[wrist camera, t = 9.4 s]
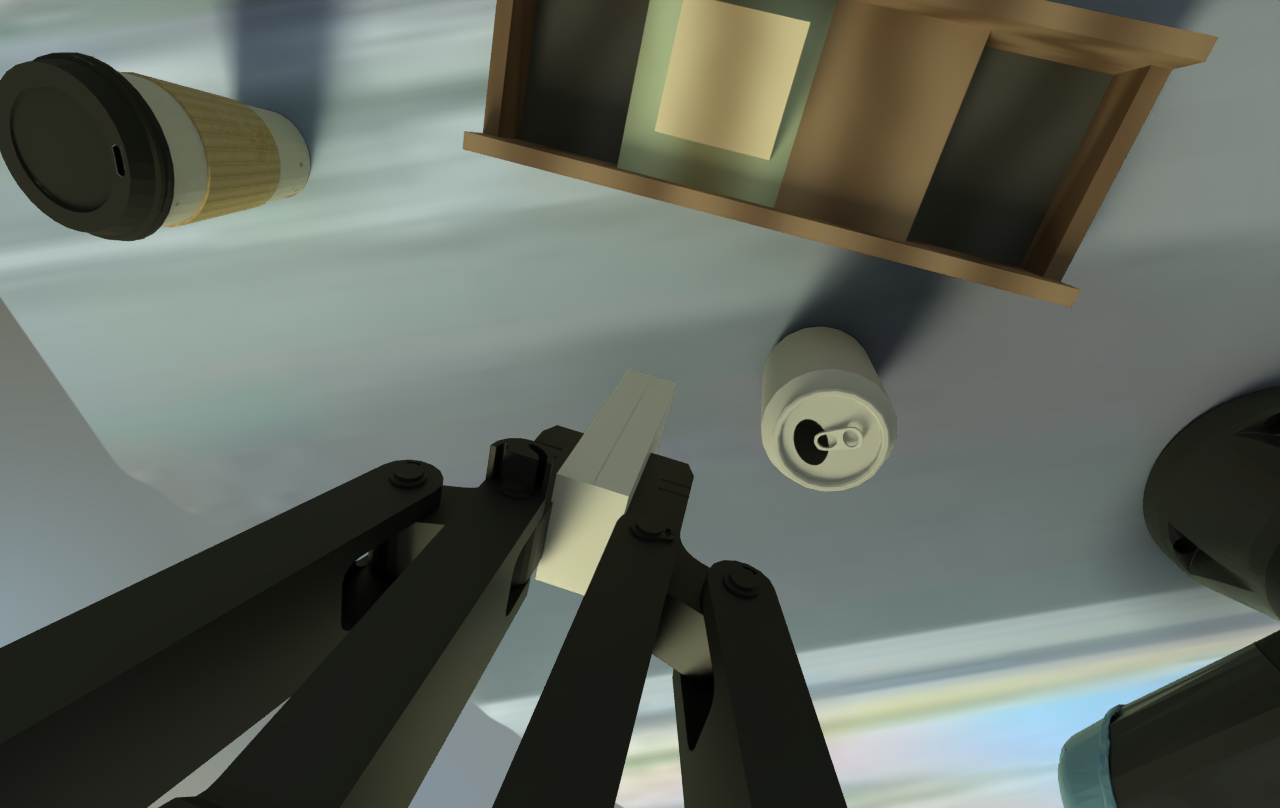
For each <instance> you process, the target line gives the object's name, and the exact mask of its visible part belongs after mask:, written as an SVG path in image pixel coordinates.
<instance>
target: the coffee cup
mask: <svg viewBox="0 0 1280 808" xmlns="http://www.w3.org/2000/svg"><path fill="white" fill-rule="evenodd" d="M0 151H1V154H2V157H3V159H4V161H5V163H6V165H7V167H8V169H9V171H10V173H11V175H12V176H13V178H14V179H15V181H16V182H17V184H18V186H19V187H20V188H21V190H22V191H23V192H24V193H25V194H26V196H27V197H28V198H29V199H30V201H31V202H33V203H34V204H35V205H36V206H37V207H38V208H39V209H40V210H41V211H42V212H43V213H45V214H46V215H47V216H49V217H50V218H51V219H53V220H54V221H56V222H58V223H60V224H62V225H64V226H65V227H67V228H70V229H74V230H77V231H80V232H87V233H89V234H91V235H94V236H98V237H101V238H104V239H108V240H121V241H134V240H140V239H144V238H146V237H148V236H150V235H152V234H154V233H155V232H156V231H157V230H158V229H159V228H160V227H175V226H181V225H185V224H189V223H193V222H197V221H202V220H206V219H210V218H214V217H218V216H222V215H226V214H230V213H234V212H238V211H242V210H246V209H251V208H255V207H258V206H260V205H263V204H265V203H266V202H270V201H274V200H278V199H283V198H287V197H291V196H294V195H296V194H298V193H299V192H300V191H301V190H302V189H303V188H304V186H305V185H306V183H307V180H308V178H309V173H310V157H309V152H308V148H307V145H306V143H305V141H304V139H303V137H302V135H301V133H300V132H299V130H298V129H297V128H296V127H295V126H294V125H293V123H292V122H291V121H289V120H288V119H287V118H285V117H284V116H282V115H280V114H278V113H276V112H272V111H269V110H265V109H261V108H257V107H253V106H249V105H245V104H243V103H241V102H239V101H237V100H234V99H230V98H226V97H222V96H219V95H215V94H211V93H208V92H204V91H200V90H196V89H193V88H189V87H185V86H181V85H178V84H174V83H170V82H167V81H163V80H159V79H155V78H152V77H148V76H144V75H140V74H137V73H133V72H118V71H116V70H115V69H113V68H112V67H111V66H109V65H108V64H106V63H104V62H102V61H100V60H98V59H96V58H94V57H91V56H88V55H84V54H80V53H51V54H47V55H44V56H41V57H37V58H36V59H34V60H33V61H29V62H25V63H21V64H18V65H15V66H14V67H13V68H11V69H10V70H8V71H7V72H6V73H5V75H4V76H3V77H2V79H1V80H0Z"/></svg>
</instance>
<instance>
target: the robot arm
mask: <svg viewBox="0 0 1280 808" xmlns="http://www.w3.org/2000/svg"><path fill="white" fill-rule="evenodd" d="M676 385H677V383H674V382H671V381H668V380H664V379H661V378H657V377H654V376H651V375H647V374H644V373H640V372H637V371H634V370H630V369H629V370H628V371H627V372H626V374H625V375H624V377H623V378H622V380H621V381H620V383H619V384H618V386H617V387H616V388H615V390H614V391H613V393H612V394H611V396H610V397H609V399H608V400H607V401H606V403H605V404H604V406H603V407H602V409H601V410H600V412H599V413H598V415H597V416H596V417H595V419H594V420H593V422H592V423H591V425H590V426H589V428H588V429H587V430H586V432H585V433H581V432H577V431H574V430H571V429H568V428H565V427H561V426H558V425H557V426H554V427H552V428H549V429H547V430H544V431H542V432H541V434H540V435H539V436H538V437H537V438H536V440H535V441H532V440H527V439H522V438H508V439H503V440H499V441H497V442H495V443H493V444H492V445H491V446H490V453H489V460H488V467H487V474H486V480H485V481H484V482H483V483H482V484H481V485H480V486H479V487H477V488H463V487H453V486H444V485H443V476H442V474H441V472H440V470H438V469H437V468H436V467H434V466H433V465H431V464H428V463H425V462H422V461H417V460H416V461H415V460H400V461H393V462H390V463H387V464H384V465H382V466H380V467H378V468H375V469H373V470H371V471H369V472H367V473H365V474H363V475H361V476H359V477H357V478H355V479H352V480H350V481H348V482H346V483H344V484H342V485H340V486H338V487H336V488H334V489H332V490H330V491H327V492H325V493H323V494H321V495H319V496H317V497H315V498H313V499H311V500H309V501H307V502H304V503H302V504H300V505H298V506H296V507H294V508H292V509H290V510H288V511H286V512H284V513H281V514H279V515H277V516H275V517H273V518H271V519H269V520H267V521H265V522H263V523H261V524H259V525H256V526H254V527H252V528H250V529H248V530H246V531H244V532H242V533H240V534H238V535H236V536H233V537H231V538H229V539H227V540H225V541H223V542H221V543H219V544H217V545H215V546H213V547H211V548H208V549H206V550H204V551H202V552H201V553H198V554H196V555H194V556H192V557H190V558H188V559H185V560H184V561H181V562H179V563H177V564H175V565H173V566H171V567H169V568H167V569H165V570H163V571H160V572H158V573H156V574H154V575H152V576H150V577H148V578H146V579H144V580H142V581H140V582H137V583H135V584H133V585H131V586H129V587H127V588H125V589H123V590H121V591H119V592H117V593H115V594H113V595H111V596H108V597H106V598H104V599H102V600H100V601H98V602H96V603H94V604H91V605H89V606H87V607H86V608H83V609H81V610H79V611H77V612H75V613H73V614H71V615H69V616H66V617H64V618H62V619H60V620H58V621H56V622H54V623H52V624H50V625H48V626H46V627H44V628H41V629H40V630H37V631H35V632H33V633H31V634H29V635H27V636H25V637H23V638H21V639H19V640H16V641H14V642H12V643H10V644H8V645H6V646H4V647H2V648H0V808H147V807H148V806H150V805H151V804H152V803H154V802H155V801H156V800H158V799H159V798H160V797H161V796H163V795H164V794H165V793H166V792H168V791H169V790H170V789H172V788H173V787H174V786H175V785H177V784H178V783H179V782H181V781H182V780H183V779H185V778H186V777H187V776H189V775H190V774H191V773H192V772H194V771H195V770H196V769H198V768H199V767H200V766H201V765H203V764H204V763H205V762H207V761H208V760H209V759H210V758H212V757H213V756H214V755H216V754H217V753H218V752H219V751H221V750H222V749H223V748H225V747H226V746H227V745H229V744H230V743H231V742H233V741H234V740H235V739H236V738H238V737H239V736H240V735H242V734H243V733H244V732H245V731H247V730H248V729H249V728H251V727H252V726H253V725H254V724H256V723H257V722H258V721H260V720H261V719H262V718H264V717H265V716H266V715H267V714H269V713H270V712H271V711H273V710H274V709H275V708H276V707H278V706H279V705H280V704H281V703H283V702H284V701H286V700H287V699H288V698H289V697H290V699H289V700H288V701H287V702H286V703H285V704H284V705H283V707H282V708H281V709H280V710H279V711H278V712H277V713H276V714H275V715H274V716H273V718H272V719H271V720H270V721H269V722H268V723H267V724H266V725H265V727H264V728H263V729H262V730H261V731H260V732H259V733H258V734H257V735H256V737H255V738H254V739H253V740H252V741H251V742H250V743H249V745H247V747H246V748H245V749H244V750H243V751H242V752H241V753H240V754H239V756H238V757H237V758H236V759H235V760H234V761H233V762H232V763H231V765H230V766H229V767H228V768H227V769H226V770H225V771H224V772H223V773H222V775H221V776H220V777H219V778H218V779H217V780H216V781H215V782H214V783H213V784H212V785H211V786H210V787H209V788H208V789H207V790H205V791H204V792H202V793H201V794H199V795H197V796H195V797H181V798H180V797H179V798H174V799H172V800H171V801H169V802H167V803H166V804H164V805H162V806H161V807H159V808H408V806H409V805H410V803H411V801H412V799H413V797H414V796H415V794H416V792H417V790H418V788H419V787H420V785H421V783H422V781H423V780H424V778H425V776H426V774H427V772H428V771H429V768H430V767H431V765H432V763H433V762H434V760H435V758H436V756H437V755H438V753H439V751H440V749H441V747H442V746H443V744H444V742H445V740H446V738H447V737H448V735H449V733H450V731H451V730H452V728H453V726H454V724H455V722H456V721H457V719H458V717H459V715H460V714H461V711H462V710H463V708H464V706H465V704H466V703H467V701H468V699H469V697H470V696H471V694H472V692H473V690H474V689H475V687H476V685H477V683H478V681H479V680H480V678H481V676H482V674H483V672H484V671H485V669H486V667H487V665H488V664H489V662H490V660H491V658H492V656H493V655H494V653H495V651H496V649H497V647H498V646H499V644H500V642H501V640H502V639H503V637H504V635H505V633H506V631H507V630H508V628H509V626H510V624H511V622H512V621H513V619H514V617H515V615H516V614H517V612H518V610H519V608H520V606H521V605H522V603H523V601H524V599H525V597H526V596H527V592H528V588H529V583H530V578H531V575H532V573H533V572H534V570H535V568H536V566H537V565H538V569H537V574H536V579H537V580H540V581H543V582H546V583H549V584H552V585H555V586H558V587H560V588H563V589H566V590H569V591H572V592H575V593H578V594H581V595H584V598H583V600H582V602H581V605H580V607H579V609H578V611H577V614H576V616H575V618H574V621H573V623H572V625H571V628H570V630H569V632H568V634H567V637H566V639H565V641H564V644H563V646H562V648H561V650H560V653H559V655H558V657H557V660H556V662H555V664H554V667H553V669H552V671H551V673H550V676H549V678H548V680H547V683H546V685H545V687H544V690H543V692H542V694H541V696H540V699H539V701H538V703H537V706H536V708H535V710H534V712H533V715H532V717H531V719H530V722H529V724H528V726H527V729H526V731H525V733H524V735H523V738H522V740H521V743H520V745H519V747H518V749H517V752H516V754H515V756H514V759H513V761H512V763H511V765H510V768H509V770H508V772H507V774H506V777H505V779H504V782H503V784H502V786H501V789H500V791H499V793H498V795H497V798H496V800H495V802H494V804H493V807H492V808H614V805H615V801H616V797H617V793H618V789H619V785H620V781H621V776H622V772H623V768H624V764H625V760H626V756H627V752H628V748H629V744H630V740H631V736H632V732H633V728H634V724H635V720H636V716H637V712H638V708H639V703H640V699H641V695H642V691H643V687H644V683H645V679H646V675H647V671H648V667H649V663H650V659H651V655H652V654H653V655H655V656H656V657H658V658H659V659H661V660H662V661H664V662H665V663H667V664H668V665H670V666H671V667H672V668H674V670H673V677H672V678H673V689H674V700H675V710H676V721H677V732H678V742H679V753H680V764H681V774H682V785H683V796H684V806H685V808H847V805H846V802H845V799H844V796H843V793H842V790H841V787H840V784H839V781H838V778H837V775H836V772H835V769H834V766H833V763H832V760H831V757H830V754H829V751H828V748H827V745H826V742H825V739H824V736H823V733H822V730H821V727H820V724H819V721H818V718H817V715H816V712H815V709H814V706H813V703H812V700H811V697H810V694H809V691H808V688H807V685H806V682H805V679H804V676H803V673H802V670H801V667H800V664H799V661H798V658H797V655H796V652H795V649H794V646H793V643H792V640H791V637H790V634H789V631H788V628H787V625H786V622H785V619H784V615H783V612H782V609H781V606H780V603H779V600H778V597H777V594H776V591H775V589H774V587H773V585H772V584H771V582H770V580H769V579H768V578H767V577H766V576H765V575H764V574H763V573H761V572H760V571H759V570H757V569H755V568H754V567H752V566H750V565H748V564H745V563H742V562H738V561H730V560H723V561H720V562H717V563H714V564H713V565H712V566H711V567H710V568H709V567H707V566H706V565H704V564H702V563H701V562H699V561H698V560H696V559H695V558H693V557H692V556H691V555H690V554H689V553H688V552H687V551H686V549H685V548H684V546H683V545H682V542H681V539H680V531H681V527H682V523H683V519H684V514H685V510H686V506H687V502H688V498H689V494H690V490H691V486H692V482H693V478H694V476H693V473H692V471H691V469H690V467H689V464H686V463H683V462H680V461H676V460H673V459H670V458H667V457H663V456H660V455H657V453H658V450H659V446H660V442H661V439H662V435H663V432H664V428H665V425H666V421H667V417H668V414H669V410H670V407H671V403H672V400H673V396H674V392H675V389H676ZM1143 510H1144V517H1145V521H1146V525H1147V528H1148V530H1149V532H1150V534H1151V536H1152V538H1153V539H1154V541H1155V542H1156V544H1157V545H1158V546H1159V547H1160V549H1161V550H1162V551H1163V552H1164V553H1165V554H1166V555H1167V556H1168V557H1169V558H1170V559H1172V560H1173V561H1174V562H1175V563H1176V564H1177V565H1178V566H1179V567H1180V568H1181V569H1182V570H1183V571H1184V572H1185V573H1186V574H1188V575H1189V576H1191V577H1192V578H1193V579H1195V580H1196V581H1198V582H1199V583H1201V584H1203V585H1204V586H1206V587H1208V588H1210V589H1212V590H1214V591H1217V592H1219V593H1221V594H1223V595H1225V596H1227V597H1229V598H1232V599H1234V600H1236V601H1238V602H1240V603H1242V604H1244V605H1246V606H1249V607H1251V608H1253V609H1255V610H1257V611H1259V612H1261V613H1264V614H1266V615H1268V616H1270V617H1272V618H1274V619H1276V620H1278V621H1280V387H1275V388H1270V389H1266V390H1262V391H1258V392H1255V393H1251V394H1248V395H1245V396H1243V397H1240V398H1237V399H1235V400H1232V401H1230V402H1228V403H1226V404H1224V405H1222V406H1220V407H1218V408H1216V409H1214V410H1212V411H1210V412H1209V413H1207V414H1205V415H1204V416H1202V417H1201V418H1199V419H1198V420H1196V421H1195V422H1193V423H1192V424H1191V425H1189V426H1188V427H1187V428H1186V429H1184V430H1183V431H1182V432H1181V433H1180V434H1179V435H1178V436H1177V437H1176V438H1175V439H1174V440H1173V441H1172V442H1171V443H1170V444H1169V445H1168V446H1167V447H1166V449H1165V450H1164V451H1163V453H1162V454H1161V455H1160V457H1159V458H1158V460H1157V461H1156V463H1155V465H1154V467H1153V468H1152V470H1151V473H1150V475H1149V477H1148V480H1147V483H1146V487H1145V491H1144V498H1143ZM367 552H368V555H367V556H365V557H364V558H362V559H361V560H358V561H356V560H357V559H358V558H359V557H361V556H362V555H364V554H365V553H367ZM538 563H539V564H538ZM1058 782H1059V788H1060V793H1061V798H1062V802H1063V805H1064V808H1280V630H1279V631H1277V632H1275V633H1273V634H1271V635H1269V636H1267V637H1265V638H1263V639H1261V640H1259V641H1257V642H1254V643H1253V644H1251V645H1248V646H1246V647H1244V648H1242V649H1240V650H1238V651H1236V652H1234V653H1232V654H1230V655H1228V656H1226V657H1224V658H1222V659H1220V660H1218V661H1215V662H1213V663H1211V664H1209V665H1207V666H1205V667H1203V668H1201V669H1199V670H1197V671H1195V672H1193V673H1191V674H1189V675H1187V676H1185V677H1182V678H1180V679H1178V680H1176V681H1174V682H1172V683H1170V684H1168V685H1166V686H1164V687H1162V688H1160V689H1158V690H1156V691H1154V692H1152V693H1149V694H1147V695H1145V696H1143V697H1141V698H1139V699H1137V700H1135V701H1133V702H1131V703H1129V704H1127V705H1120V704H1119V705H1117V706H1115V707H1113V708H1111V709H1110V710H1109V711H1108V712H1107V713H1106V715H1105V717H1104V718H1103V719H1101V720H1099V721H1098V722H1096V723H1094V724H1092V725H1091V726H1089V727H1087V728H1085V729H1084V730H1082V731H1080V732H1078V733H1077V734H1075V735H1073V736H1072V737H1071V738H1069V739H1068V740H1067V742H1066V743H1065V744H1064V746H1063V748H1062V750H1061V755H1060V763H1059V765H1058Z"/></svg>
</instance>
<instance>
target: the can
mask: <svg viewBox="0 0 1280 808" xmlns="http://www.w3.org/2000/svg"><path fill="white" fill-rule="evenodd" d="M761 432H762V442H763V446H764V448H765V450H766V452H767V454H768V456H769V459H770V461H771V462H772V463H773V464H774V465H775V466H776V467H777V468H778V469H779V470H780V471H781V472H782V473H783V474H784V475H786V476H787V477H789V478H791V479H792V480H794V481H796V482H798V483H799V484H801V485H803V486H805V487H807V488H811V489H816V490H820V491H842V490H845V489H848V488H852V487H855V486H858V485H860V484H861V483H863V482H864V481H866V480H867V479H869V478H870V477H872V476H873V475H874V474H875V473H876V472H877V471H878V469H879V468H880V467H881V466H882V464H883V463H884V462H885V461H886V460H887V458H888V457H889V456H890V455H891V452H892V449H893V446H894V444H895V441H896V438H897V416H896V414H895V411H894V409H893V406H892V404H891V401H890V399H889V397H888V395H887V393H886V391H885V389H884V387H883V385H882V383H881V381H880V379H879V377H878V375H877V373H876V371H875V369H874V367H873V365H872V363H871V361H870V359H869V357H868V355H867V353H866V351H865V350H864V348H863V347H862V346H861V345H860V344H859V343H858V342H857V341H856V340H855V339H854V338H853V337H851V336H850V335H848V334H846V333H844V332H842V331H840V330H838V329H833V328H828V327H822V326H821V327H811V328H804V329H801V330H799V331H797V332H794V333H792V334H789V335H788V336H786V337H785V338H784V339H783V340H782V341H780V342H779V343H778V344H777V345H776V346H775V347H774V349H773V350H772V352H771V353H770V355H769V357H768V358H767V360H766V364H765V368H764V372H763V386H762V411H761Z"/></svg>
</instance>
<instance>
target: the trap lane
mask: <svg viewBox="0 0 1280 808" xmlns="http://www.w3.org/2000/svg"><path fill="white" fill-rule="evenodd" d="M716 1H720V2H724V3H729V4H733V5H737V6H742V7H746V8H751V9H755V10H759V11H764V12H768V13H772V14H777V15H781V16H785V17H790V18H794V19H798V20H803V21H807V22H810V26H809V30H808V33H807V37H806V40H805V44H804V48H803V51H802V54H801V58H800V61H799V64H798V68H797V71H796V74H795V78H794V81H793V84H792V88H791V91H790V94H789V98H788V101H787V104H786V108H785V111H784V115H783V118H782V121H781V125H780V128H779V131H778V135H777V138H776V141H775V145H774V148H773V151H772V155H771V158H770V161H768V160H765V159H761V158H757V157H753V156H749V155H745V154H741V153H737V152H733V151H729V150H725V149H721V148H717V147H713V146H709V145H706V144H702V143H698V142H694V141H690V140H686V139H682V138H678V137H674V136H670V135H667V134H663V133H660V132H656V131H655V126H656V122H657V117H658V113H659V108H660V104H661V99H662V94H663V90H664V85H665V81H666V76H667V72H668V67H669V63H670V58H671V53H672V49H673V44H674V40H675V35H676V31H677V26H678V22H679V17H680V12H681V8H682V3H683V0H497V4H496V14H495V23H494V33H493V42H492V52H491V61H490V71H489V80H488V90H487V99H486V109H485V118H484V128H483V133H475V132H466V131H464V142H463V149H465V150H468V151H472V152H476V153H480V154H484V155H488V156H491V157H495V158H499V159H503V160H507V161H511V162H514V163H518V164H522V165H526V166H530V167H534V168H537V169H541V170H545V171H549V172H553V173H557V174H560V175H564V176H568V177H572V178H576V179H580V180H584V181H587V182H591V183H595V184H599V185H603V186H607V187H610V188H614V189H618V190H622V191H626V192H630V193H633V194H637V195H641V196H645V197H649V198H653V199H656V200H660V201H664V202H668V203H672V204H676V205H680V206H683V207H687V208H691V209H695V210H699V211H703V212H706V213H710V214H714V215H718V216H722V217H726V218H729V219H733V220H737V221H741V222H745V223H749V224H752V225H756V226H760V227H764V228H768V229H772V230H775V231H779V232H783V233H787V234H791V235H795V236H799V237H802V238H806V239H810V240H814V241H818V242H822V243H825V244H829V245H833V246H837V247H841V248H845V249H848V250H852V251H856V252H860V253H864V254H868V255H871V256H875V257H879V258H883V259H887V260H891V261H894V262H898V263H902V264H906V265H910V266H914V267H918V268H921V269H925V270H929V271H933V272H937V273H941V274H944V275H948V276H952V277H956V278H960V279H964V280H967V281H971V282H975V283H979V284H983V285H987V286H990V287H994V288H998V289H1002V290H1006V291H1010V292H1013V293H1017V294H1021V295H1025V296H1029V297H1033V298H1037V299H1040V300H1044V301H1048V302H1052V303H1056V304H1060V305H1063V306H1067V307H1071V308H1072V306H1073V304H1074V302H1075V300H1076V298H1077V296H1078V295H1079V293H1080V291H1081V290H1080V289H1077V288H1075V287H1072V286H1070V285H1068V284H1065V283H1063V282H1061V280H1062V278H1063V276H1064V274H1065V272H1066V270H1067V268H1068V267H1069V265H1070V263H1071V261H1072V259H1073V257H1074V255H1075V253H1076V251H1077V249H1078V248H1079V246H1080V244H1081V242H1082V240H1083V238H1084V236H1085V234H1086V232H1087V230H1088V228H1089V227H1090V225H1091V223H1092V221H1093V219H1094V217H1095V215H1096V213H1097V211H1098V209H1099V208H1100V206H1101V204H1102V202H1103V200H1104V198H1105V196H1106V194H1107V192H1108V190H1109V189H1110V187H1111V185H1112V183H1113V181H1114V179H1115V177H1116V175H1117V173H1118V171H1119V170H1120V168H1121V166H1122V164H1123V162H1124V160H1125V158H1126V156H1127V154H1128V152H1129V151H1130V149H1131V147H1132V145H1133V143H1134V141H1135V139H1136V137H1137V135H1138V133H1139V132H1140V130H1141V128H1142V126H1143V124H1144V122H1145V120H1146V118H1147V116H1148V114H1149V113H1150V111H1151V109H1152V107H1153V105H1154V103H1155V101H1156V99H1157V97H1158V95H1159V94H1160V92H1161V90H1162V88H1163V86H1164V84H1165V82H1166V80H1167V78H1168V76H1169V74H1170V73H1171V71H1172V69H1176V68H1180V67H1185V66H1189V65H1193V64H1197V63H1202V62H1205V61H1206V59H1207V57H1208V56H1209V54H1210V52H1211V50H1212V48H1213V46H1214V44H1215V43H1216V41H1217V39H1218V37H1215V36H1211V35H1206V34H1201V33H1196V32H1192V31H1187V30H1182V29H1178V28H1173V27H1168V26H1163V25H1159V24H1154V23H1149V22H1145V21H1140V20H1135V19H1131V18H1126V17H1121V16H1116V15H1112V14H1107V13H1102V12H1098V11H1093V10H1088V9H1083V8H1079V7H1074V6H1069V5H1065V4H1060V3H1055V2H1050V1H1046V0H716Z"/></svg>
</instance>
